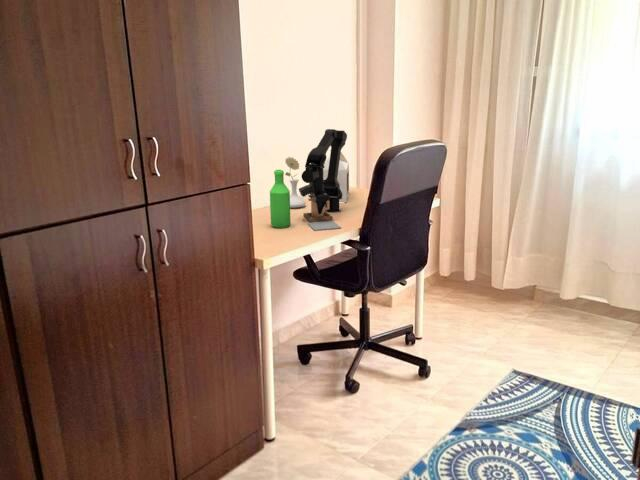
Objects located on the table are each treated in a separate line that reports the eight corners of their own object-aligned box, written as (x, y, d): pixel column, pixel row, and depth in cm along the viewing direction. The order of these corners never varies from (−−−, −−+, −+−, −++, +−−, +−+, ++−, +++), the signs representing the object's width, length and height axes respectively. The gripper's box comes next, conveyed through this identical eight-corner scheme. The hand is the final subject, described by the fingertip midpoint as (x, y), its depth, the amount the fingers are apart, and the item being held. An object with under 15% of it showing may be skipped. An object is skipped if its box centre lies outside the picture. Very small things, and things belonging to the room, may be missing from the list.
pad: (333, 222, 257) (333, 220, 257) (341, 228, 246) (341, 227, 246) (307, 224, 254) (307, 222, 254) (314, 231, 243) (314, 229, 243)
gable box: (325, 194, 316) (324, 143, 308) (349, 194, 314) (349, 143, 306) (321, 203, 295) (320, 149, 287) (346, 203, 293) (346, 149, 285)
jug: (327, 216, 267) (327, 195, 264) (331, 219, 262) (330, 198, 259) (307, 217, 265) (307, 197, 262) (310, 221, 259) (310, 199, 256)
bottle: (268, 224, 254) (266, 169, 247) (286, 222, 257) (284, 167, 250) (274, 229, 246) (272, 172, 239) (293, 227, 250) (291, 170, 242)
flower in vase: (310, 207, 286) (309, 157, 279) (291, 210, 280) (289, 160, 272) (296, 202, 296) (295, 154, 289) (277, 205, 290) (275, 156, 283)
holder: (325, 215, 270) (325, 211, 269) (332, 220, 259) (332, 216, 259) (303, 216, 267) (303, 213, 266) (309, 222, 257) (309, 218, 256)
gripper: (295, 176, 264) (296, 209, 269) (305, 184, 247) (305, 218, 252) (318, 175, 267) (318, 207, 272) (329, 182, 250) (329, 216, 254)
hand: (317, 212), depth 262 cm, fingers closed on jug, 6 cm apart
